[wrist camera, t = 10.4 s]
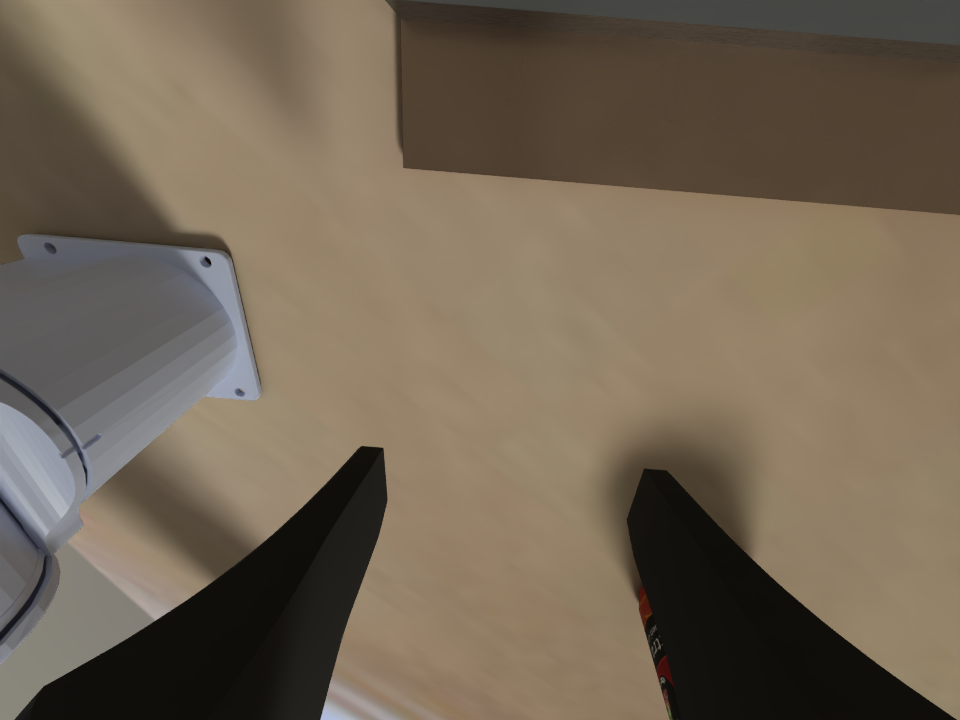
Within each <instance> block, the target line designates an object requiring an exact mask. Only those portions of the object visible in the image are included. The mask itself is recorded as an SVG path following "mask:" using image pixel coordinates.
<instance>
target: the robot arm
mask: <svg viewBox="0 0 960 720" xmlns="http://www.w3.org/2000/svg"><path fill="white" fill-rule="evenodd" d="M17 243H18V246H19V248H20V250H21V253H22V255H23V257H24V259H21V260H17V261H13V262H9V263H5V264H2V265H0V665H1V664H2V663H3V662H4V661H5V660H6V659H7V658H8V657H9V656H10V655H11V654H12V653H13V652H14V651H15V650H16V649H17V648H18V647H19V646H20V644H21V643H22V642H23V641H24V640H25V639H26V638H27V637H28V636H29V634H30V633H31V632H32V631H33V629H34V628H35V626H36V625H37V624H38V622H39V621H40V620H41V619H42V617H43V616H44V614H45V613H46V611H47V609H48V607H49V606H50V604H51V602H52V600H53V599H54V596H55V593H56V591H57V588H58V585H59V579H60V568H59V563H58V559H57V558H56V556H55V555H54V553H55V552H56V551H57V550H58V549H59V548H60V547H62V546H63V545H64V544H65V543H66V542H67V541H68V540H69V539H70V538H71V537H72V536H73V535H74V534H75V533H77V532H78V531H79V530H80V529H81V528H82V527H83V526H84V524H83V522H82V520H81V518H80V515H79V506H80V504H81V503H82V502H84V501H85V500H86V499H87V498H88V497H89V496H91V495H92V494H93V493H94V492H95V491H96V490H97V489H99V488H100V487H101V486H102V485H103V484H104V483H105V482H107V481H108V480H109V479H110V478H111V477H112V476H113V475H115V474H116V473H117V472H118V471H119V470H120V469H121V468H123V467H124V466H125V465H126V464H127V463H128V462H129V461H131V460H132V459H133V458H134V457H135V456H136V455H137V454H139V453H140V452H141V451H142V450H143V449H144V448H145V447H147V446H148V445H149V444H150V443H151V442H152V441H153V440H155V439H156V438H157V437H158V436H159V435H160V434H161V433H163V432H164V431H165V430H166V429H167V428H168V427H169V426H171V425H172V424H173V423H174V422H175V421H176V420H177V419H179V418H180V417H181V416H182V415H183V414H184V413H186V412H187V411H188V410H189V409H190V408H191V407H192V406H194V405H195V404H196V403H197V402H198V401H199V400H200V399H202V398H203V397H204V396H206V397H217V398H228V399H239V400H250V401H252V400H256V399H258V398H259V397H260V395H261V394H262V390H261V385H260V381H259V377H258V372H257V368H256V364H255V359H254V355H253V350H252V346H251V342H250V337H249V333H248V329H247V324H246V320H245V315H244V311H243V307H242V302H241V298H240V293H239V289H238V285H237V280H236V276H235V272H234V267H233V263H232V260H231V258H230V256H229V255H228V254H227V253H225V252H224V251H222V250H216V249H205V248H193V247H181V246H170V245H158V244H147V243H135V242H124V241H112V240H100V239H89V238H77V237H66V236H54V235H42V234H25V235H20V236H19V237H18V239H17ZM53 245H54V247H55V248H56V249H55V248H54V247H53ZM205 256H206V257H208V258H209V259H210V261H211V265H210V264H208V263H207V262H206V260H205ZM240 389H242V390H243V391H244V392H242V391H240ZM386 504H387V487H386V475H385V462H384V449H383V448H379V447H366V446H361V447H360V448H359V449H358V450H357V451H356V452H355V453H354V454H353V455H352V456H351V457H350V458H349V460H348V461H347V462H346V463H345V464H344V465H343V466H342V467H341V468H340V469H339V471H338V472H337V473H336V474H335V475H334V476H333V477H332V478H331V479H330V480H329V481H328V482H327V483H326V484H325V485H324V486H323V487H322V488H321V489H320V490H319V491H318V492H317V493H316V494H315V495H314V496H313V497H312V498H311V499H310V500H309V501H308V502H307V503H306V504H305V505H304V506H303V507H302V508H301V509H300V510H299V511H298V512H297V513H296V514H295V515H294V516H292V517H291V518H290V519H289V520H288V521H287V522H286V523H285V524H284V525H283V526H282V527H281V528H279V529H278V530H277V531H276V532H275V533H274V534H273V535H272V536H270V537H269V538H268V539H267V540H266V541H265V542H263V543H262V544H261V545H260V546H259V547H257V548H256V549H255V550H254V551H252V552H251V553H250V554H249V555H247V556H246V557H245V558H244V559H242V560H241V561H240V562H239V563H237V564H236V565H235V566H233V567H232V568H231V569H229V570H228V571H227V572H225V573H224V574H223V575H221V576H220V577H219V578H217V579H216V580H215V581H213V582H212V583H211V584H209V585H208V586H207V587H205V588H204V589H202V590H201V591H199V592H198V593H197V594H195V595H194V596H192V597H191V598H189V599H188V600H187V601H185V602H184V603H182V604H180V605H179V606H177V607H176V608H174V609H173V610H171V611H170V612H168V613H167V614H165V615H164V616H162V617H161V618H159V619H157V620H156V621H154V622H153V623H151V624H150V625H148V626H147V627H145V628H144V629H142V630H140V631H139V632H137V633H136V634H134V635H132V636H131V637H129V638H128V639H126V640H124V641H123V642H121V643H119V644H118V645H116V646H114V647H113V648H111V649H109V650H108V651H106V652H104V653H102V654H100V655H99V656H97V657H95V658H93V659H92V660H90V661H88V662H86V663H85V664H83V665H81V666H79V667H78V668H76V669H74V670H72V671H71V672H69V673H67V674H65V675H64V676H62V677H60V678H58V679H56V680H55V681H53V682H51V683H49V684H47V685H45V686H44V687H43V688H42V689H41V690H40V691H39V692H38V693H37V695H36V696H35V697H34V698H33V699H32V700H31V702H29V704H28V705H27V706H26V707H25V708H24V709H23V710H22V711H21V713H20V714H19V715H18V716H17V717H16V719H15V720H320V719H321V715H322V711H323V707H324V703H325V700H326V696H327V692H328V688H329V684H330V680H331V677H332V673H333V669H334V666H335V662H336V658H337V655H338V651H339V648H340V644H341V640H342V637H343V634H344V631H345V628H346V625H347V621H348V618H349V616H350V613H351V610H352V608H353V605H354V602H355V599H356V597H357V594H358V591H359V589H360V586H361V583H362V580H363V578H364V575H365V572H366V570H367V567H368V564H369V561H370V559H371V556H372V553H373V550H374V548H375V545H376V542H377V539H378V536H379V533H380V529H381V525H382V521H383V517H384V513H385V508H386ZM627 524H628V530H629V535H630V540H631V545H632V550H633V555H634V559H635V562H636V565H637V568H638V571H639V575H640V578H641V581H642V584H643V587H644V590H645V593H646V596H647V599H648V602H649V605H650V608H651V611H652V614H653V617H654V620H655V623H656V626H657V629H658V632H659V636H660V639H661V642H662V645H663V648H664V651H665V655H666V658H667V662H668V665H669V669H670V673H671V678H672V682H673V686H674V690H675V695H676V699H677V703H678V707H679V712H680V716H681V720H956V719H955V718H953V717H952V716H950V715H949V714H948V713H946V712H945V711H943V710H942V709H940V708H939V707H937V706H936V705H935V704H933V703H932V702H930V701H929V700H927V699H926V698H925V697H923V696H922V695H920V694H919V693H917V692H916V691H914V690H913V689H912V688H910V687H909V686H907V685H906V684H904V683H903V682H902V681H900V680H899V679H898V678H896V677H895V676H893V675H892V674H891V673H889V672H888V671H887V670H885V669H884V668H882V667H881V666H880V665H878V664H877V663H876V662H874V661H873V660H872V659H870V658H869V657H868V656H866V655H865V654H864V653H862V652H861V651H860V650H859V649H857V648H856V647H855V646H853V645H852V644H851V643H849V642H848V641H847V640H846V639H844V638H843V637H842V636H840V635H839V634H838V633H836V632H835V631H834V630H833V629H831V628H830V627H829V626H828V625H826V624H825V623H824V622H823V621H821V620H820V619H819V618H818V617H817V616H815V615H814V614H813V613H812V612H811V611H810V610H808V609H807V608H806V607H805V606H804V605H802V604H801V603H800V602H799V601H798V600H797V599H795V598H794V597H793V596H792V595H791V594H790V593H788V592H787V591H786V590H785V589H784V588H783V587H782V586H780V585H779V584H778V583H777V582H776V581H775V580H774V579H773V578H772V577H770V576H769V575H768V574H767V573H766V572H765V571H764V570H763V569H762V568H761V567H760V566H759V565H758V564H757V563H756V562H755V561H753V560H752V559H751V558H750V557H749V556H748V555H747V554H746V553H745V552H744V551H743V550H742V549H741V548H740V547H739V546H738V545H737V544H736V543H735V542H734V541H733V540H732V539H731V538H730V537H729V536H728V535H727V534H726V533H725V532H724V531H723V530H722V529H721V528H720V527H719V526H718V525H717V524H716V523H715V522H714V520H713V519H712V518H711V517H710V516H709V515H708V514H707V513H706V512H705V511H704V510H703V509H702V508H701V507H700V506H699V505H698V503H697V502H696V501H695V500H694V499H693V498H692V497H691V496H690V495H689V494H688V493H687V492H686V491H685V489H684V488H683V487H682V486H681V485H680V484H679V483H678V482H677V481H676V480H675V479H674V478H673V477H672V476H671V475H670V474H669V473H668V471H666V470H653V469H644V471H643V474H642V476H641V479H640V482H639V485H638V488H637V491H636V494H635V497H634V500H633V503H632V506H631V509H630V511H629V514H628V517H627Z"/></svg>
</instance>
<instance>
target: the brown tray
mask: <svg viewBox="0 0 960 720" xmlns="http://www.w3.org/2000/svg"><path fill="white" fill-rule="evenodd" d="M385 1H386V2H387V3H388V4H389V5H390V6H391V8H392V9H393V10H394V11H395V12H396V13H397V14H398V16H399V17H400V18H401V60H402V116H403V168H410V169H422V170H434V171H446V172H458V173H470V174H481V175H493V176H505V177H517V178H529V179H541V180H553V181H565V182H576V183H588V184H600V185H612V186H624V187H636V188H648V189H659V190H671V191H683V192H695V193H707V194H719V195H731V196H743V197H754V198H766V199H778V200H790V201H802V202H814V203H826V204H838V205H849V206H861V207H873V208H885V209H897V210H909V211H921V212H933V213H944V214H956V215H960V0H385Z"/></svg>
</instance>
